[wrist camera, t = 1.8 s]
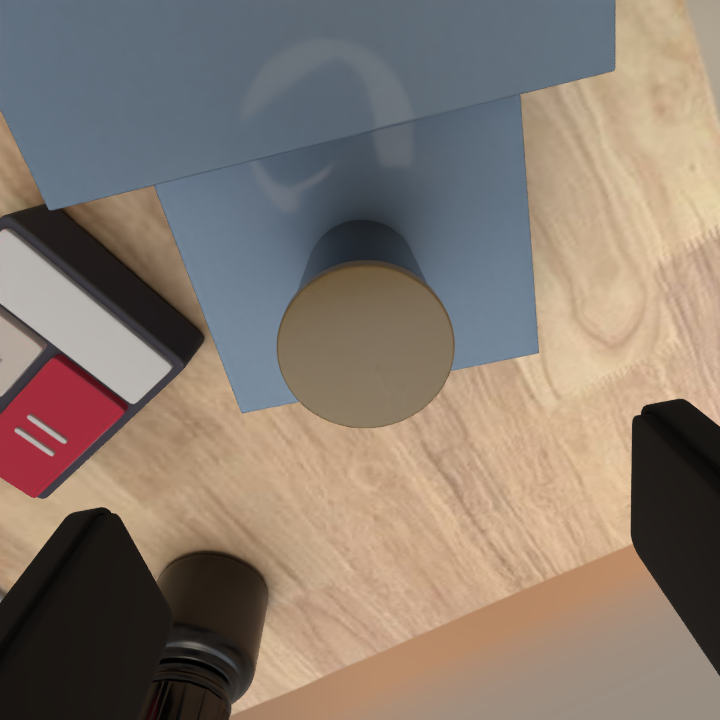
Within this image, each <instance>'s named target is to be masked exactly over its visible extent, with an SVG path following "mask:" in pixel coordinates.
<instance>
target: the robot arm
mask: <svg viewBox="0 0 720 720" xmlns="http://www.w3.org/2000/svg"><path fill="white" fill-rule="evenodd" d="M631 538H632V542H633V545H634V548H635V550H636V552H637V554H638V555H639V557H640V558H641V560H642V561H643V563H644V564H645V566H646V567H647V569H648V570H649V572H650V573H651V575H652V576H653V578H654V579H655V581H656V582H657V584H658V585H659V587H660V588H661V590H662V591H663V593H664V594H665V596H666V597H667V598H668V600H669V601H670V603H671V604H672V606H673V607H674V609H675V610H676V612H677V613H678V615H679V616H680V618H681V619H682V621H683V622H684V623H685V625H686V627H687V628H688V629H689V631H690V632H691V634H692V636H693V637H694V638H695V640H696V642H697V643H698V644H699V646H700V647H701V649H702V650H703V652H704V653H705V655H706V656H707V658H708V659H709V661H710V662H711V664H712V665H713V667H714V668H715V670H716V671H717V673H718V674H719V676H720V426H718V425H717V424H716V423H715V422H713V421H712V420H711V419H710V418H708V417H707V416H706V415H705V414H703V413H702V412H701V411H700V410H698V409H697V408H696V407H694V406H693V405H692V404H691V403H689V402H688V401H686V400H684V399H675V400H670V401H665V402H659V403H654V404H649V405H646V406H644V407H643V409H642V411H641V415H637V416H635V417H634V418H633V422H632V473H631ZM172 627H173V614H172V610H171V608H170V606H169V604H168V603H167V601H166V599H165V597H164V595H163V594H162V592H161V590H160V588H159V586H158V585H157V583H156V581H155V579H154V577H153V576H152V574H151V572H150V570H149V569H148V567H147V565H146V563H145V561H144V560H143V558H142V556H141V554H140V552H139V551H138V549H137V547H136V545H135V543H134V542H133V540H132V538H131V536H130V534H129V533H128V531H127V529H126V527H125V526H124V524H123V522H122V520H121V518H120V517H119V516H118V515H117V514H114V513H111V512H110V510H108V509H107V508H102V507H100V508H95V509H89V510H84V511H79V512H74V513H71V514H69V515H68V516H67V517H66V518H65V519H64V520H63V522H62V523H61V524H60V526H59V527H58V528H57V529H56V531H55V532H54V533H53V535H52V536H51V537H50V539H49V540H48V541H47V543H46V544H45V545H44V546H43V548H42V549H41V550H40V552H39V553H38V554H37V556H36V557H35V558H34V559H33V561H32V562H31V563H30V565H29V566H28V567H27V569H26V570H25V571H24V572H23V574H22V575H21V576H20V578H19V579H18V580H17V582H16V583H15V584H14V586H13V587H12V588H11V589H10V591H9V592H8V593H7V595H6V596H5V597H4V599H3V600H2V601H1V603H0V720H138V719H139V716H140V713H141V711H142V708H143V705H144V703H145V700H146V697H147V695H148V692H149V689H150V687H151V684H152V681H153V679H154V676H155V673H156V671H157V668H158V666H159V663H160V660H161V658H162V655H163V652H164V650H165V647H166V644H167V642H168V639H169V636H170V634H171V631H172Z"/></svg>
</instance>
